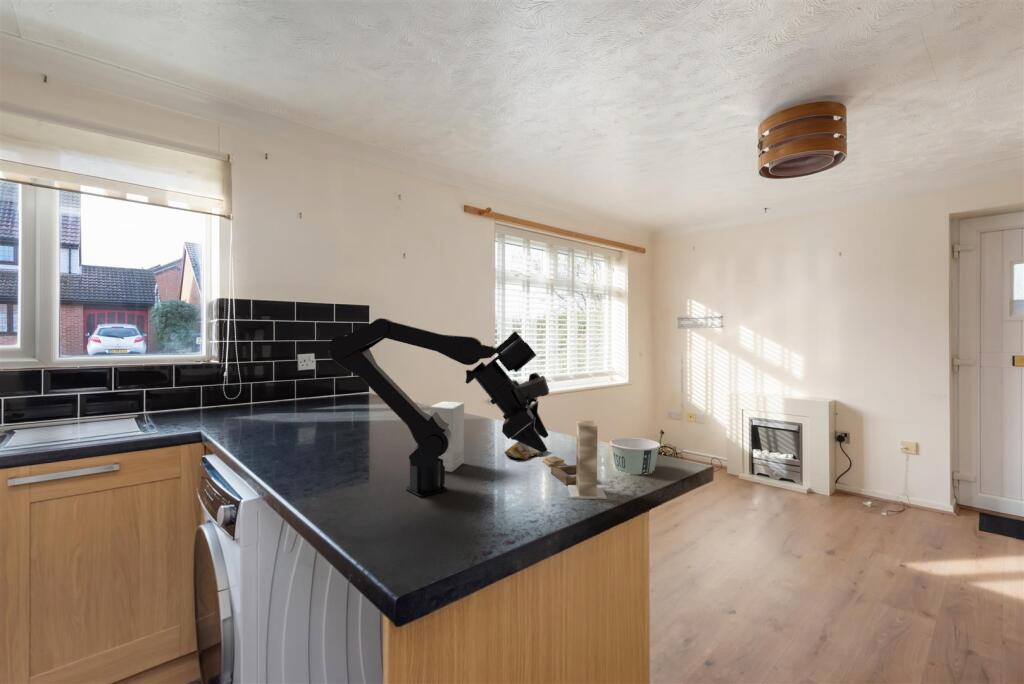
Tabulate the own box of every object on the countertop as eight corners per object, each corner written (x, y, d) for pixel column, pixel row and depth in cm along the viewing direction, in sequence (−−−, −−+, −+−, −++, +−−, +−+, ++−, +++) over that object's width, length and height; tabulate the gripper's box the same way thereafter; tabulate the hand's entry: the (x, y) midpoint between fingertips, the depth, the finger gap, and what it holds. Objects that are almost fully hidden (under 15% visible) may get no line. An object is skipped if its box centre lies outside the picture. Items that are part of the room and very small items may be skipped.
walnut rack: (566, 485, 101) (566, 478, 101) (551, 473, 110) (551, 466, 110) (596, 482, 103) (596, 475, 103) (579, 471, 112) (579, 464, 112)
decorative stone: (549, 433, 132) (531, 451, 118) (550, 448, 133) (531, 468, 119) (518, 430, 136) (497, 447, 122) (518, 444, 136) (497, 463, 123)
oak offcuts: (549, 466, 116) (549, 461, 116) (542, 461, 120) (542, 456, 120) (565, 465, 117) (565, 460, 117) (557, 460, 121) (557, 455, 121)
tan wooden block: (579, 495, 94) (579, 426, 93) (576, 485, 100) (576, 420, 100) (596, 496, 93) (597, 426, 93) (592, 486, 100) (593, 420, 99)
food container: (671, 472, 112) (671, 445, 112) (633, 479, 106) (634, 451, 106) (635, 460, 122) (635, 435, 122) (599, 466, 116) (599, 440, 116)
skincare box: (441, 461, 120) (441, 400, 119) (465, 463, 118) (466, 402, 118) (427, 470, 112) (427, 405, 111) (453, 472, 110) (453, 406, 110)
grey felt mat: (571, 498, 93) (571, 496, 93) (567, 487, 100) (567, 485, 100) (606, 498, 93) (606, 496, 93) (600, 487, 100) (600, 485, 100)
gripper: (525, 370, 87) (578, 435, 87) (531, 355, 105) (575, 409, 106) (480, 406, 89) (532, 469, 89) (494, 385, 107) (537, 438, 107)
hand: (546, 443), depth 98 cm, fingers open, 9 cm apart
